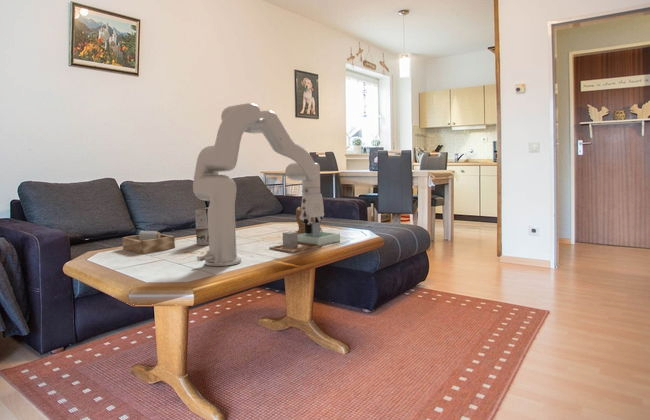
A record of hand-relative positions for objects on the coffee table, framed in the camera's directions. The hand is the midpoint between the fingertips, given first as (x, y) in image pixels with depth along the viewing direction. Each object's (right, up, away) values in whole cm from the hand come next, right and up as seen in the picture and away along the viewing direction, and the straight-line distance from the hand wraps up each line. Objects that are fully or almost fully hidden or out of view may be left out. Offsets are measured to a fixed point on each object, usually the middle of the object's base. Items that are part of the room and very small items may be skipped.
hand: (312, 231), depth 194 cm
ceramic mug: (-71, -7, -2) cm, 71 cm away
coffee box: (-48, -6, +5) cm, 49 cm away
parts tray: (-6, -7, -15) cm, 18 cm away
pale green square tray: (+2, -5, -1) cm, 6 cm away
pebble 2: (0, -2, 0) cm, 2 cm away
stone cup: (-2, -3, +19) cm, 19 cm away
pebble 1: (-9, -6, -12) cm, 16 cm away
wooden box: (-71, -7, -5) cm, 71 cm away
